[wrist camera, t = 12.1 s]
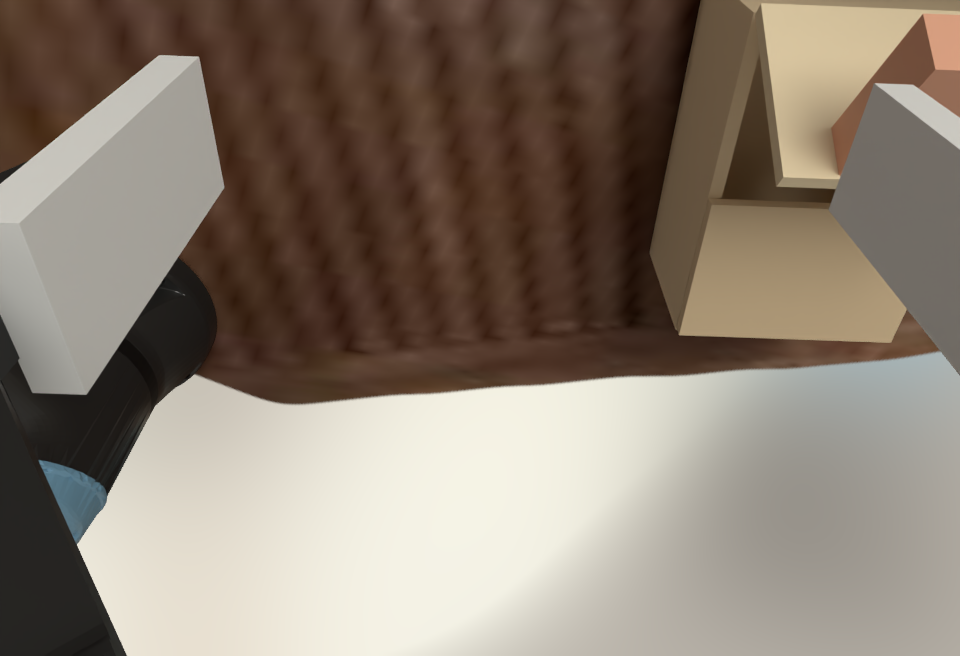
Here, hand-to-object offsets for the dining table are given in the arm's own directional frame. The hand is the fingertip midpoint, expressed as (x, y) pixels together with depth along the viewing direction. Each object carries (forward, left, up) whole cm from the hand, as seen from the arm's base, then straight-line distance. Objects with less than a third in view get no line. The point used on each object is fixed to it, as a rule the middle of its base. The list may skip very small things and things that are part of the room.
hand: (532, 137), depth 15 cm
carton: (+20, -13, -35) cm, 42 cm away
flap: (+19, -6, -20) cm, 29 cm away
